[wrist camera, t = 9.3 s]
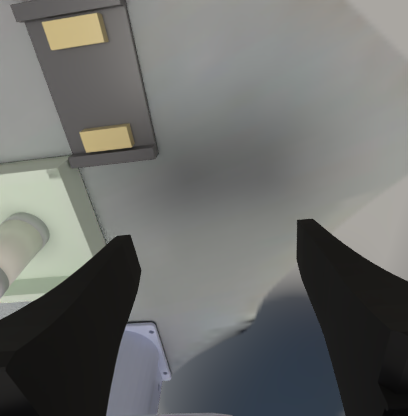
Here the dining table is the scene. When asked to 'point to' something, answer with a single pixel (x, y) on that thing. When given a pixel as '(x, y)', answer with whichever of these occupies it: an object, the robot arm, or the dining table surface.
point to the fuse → (19, 245)
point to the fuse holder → (92, 78)
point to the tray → (50, 222)
